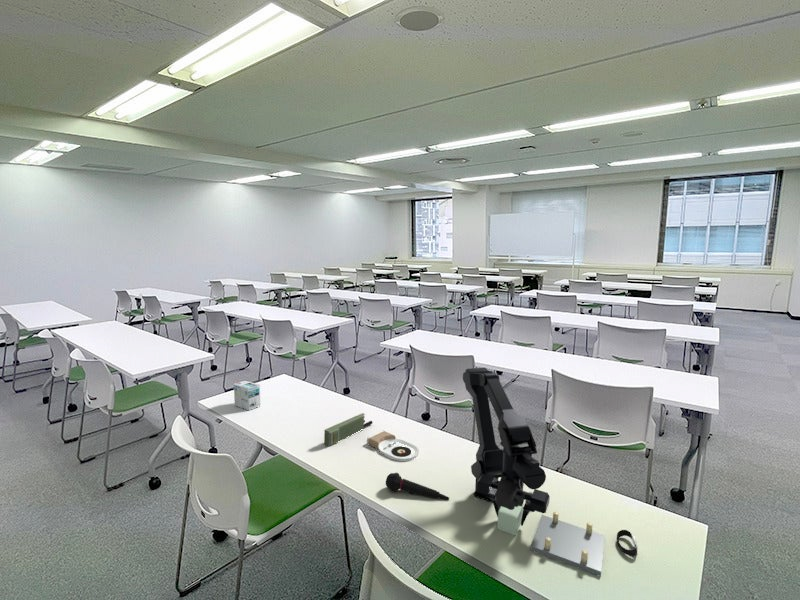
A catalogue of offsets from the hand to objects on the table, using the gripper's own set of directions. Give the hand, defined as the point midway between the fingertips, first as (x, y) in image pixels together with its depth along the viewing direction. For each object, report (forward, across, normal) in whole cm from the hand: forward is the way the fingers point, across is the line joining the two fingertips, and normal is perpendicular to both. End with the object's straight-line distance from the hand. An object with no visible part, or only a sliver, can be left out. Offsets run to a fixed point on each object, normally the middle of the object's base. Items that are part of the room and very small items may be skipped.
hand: (510, 520), depth 113 cm
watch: (+1, +28, +7) cm, 29 cm away
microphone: (+2, -29, -2) cm, 29 cm away
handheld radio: (+2, -69, +20) cm, 72 cm away
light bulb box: (+1, -127, +18) cm, 128 cm away
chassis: (+1, +15, 0) cm, 15 cm away
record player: (+2, -48, +19) cm, 52 cm away
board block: (+1, 0, 0) cm, 1 cm away
